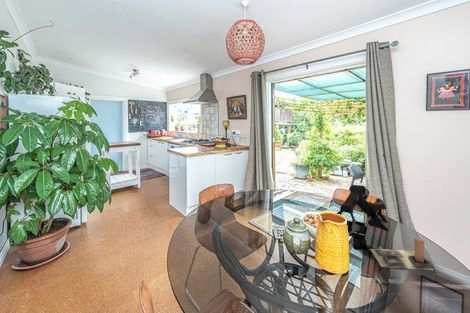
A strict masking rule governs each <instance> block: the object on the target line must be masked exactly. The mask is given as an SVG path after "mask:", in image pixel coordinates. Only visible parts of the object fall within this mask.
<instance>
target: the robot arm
mask: <svg viewBox="0 0 470 313" xmlns="http://www.w3.org/2000/svg"><path fill="white" fill-rule="evenodd" d="M348 190H349V192H350V193H349V194H348V196H347V197H346V199H345V200H344V202H343V203H341V205H340V208H339V211H338V212H337V213H336V214H340V216H342V215H343V213H347V214H349V215H350V217H351V220H347V219H346V220H347V225H348V233H347V234H348V236H349V237H351V242H350V244H351V246H352V248H353V249H354V250H358V251H359V250H360V251H362V250H363V251H364V250H365V251H366V250H367V246H368V245H367V244H368V243H367V239H368V237H369V227H368V225H369V226H370V227H373V228H374V227H375V228H378V229H380V230H383V231H386V232H389V228H388V227H387V226H386V225H385V224H388V223H389V221H388V220H387V219H386V217H385V216H384V214H383V213H382V211H383V210H384V211H385V210H387V205H386V203H385V200H383V199H382V198H376V199H375V201H374V202H371V201H368V198H369V196H370V193H371V192H370V190H368V189H367V188H366V186H365V185H359V184H352V185H350V187H349V188H348ZM355 207H357V208H359V209H360V212H361V213H364V214H365V215H366V217H367V218H368V219H367V223H366V222H362V221H357V220H356V218H355V215H354V214H353V213H354V209H355ZM384 223H385V224H384Z"/></svg>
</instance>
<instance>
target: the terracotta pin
mask: <svg viewBox="0 0 470 313" xmlns="http://www.w3.org/2000/svg"><path fill="white" fill-rule="evenodd" d="M413 240H414V242H413V243H414V245H413V246H414V250H413V251H414V259H415V262H416V263H423V264H424V258H425V240H424V239H422V238H417V237H416V238H414V239H413Z"/></svg>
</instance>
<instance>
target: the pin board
mask: <svg viewBox="0 0 470 313" xmlns="http://www.w3.org/2000/svg"><path fill="white" fill-rule="evenodd" d="M369 250H370V251H371V253H372V254H373V256H374V257H375V258H374V259H376V261H377V262H378V264H379V265H380V267H382V268H383V267H384V268H393V269H394V268H395V269H409V270H425V271H434V268H433V267H432V266H433V265H432V264H431V262H429V261H428V260H427V258H425V257H424V264H423V263H416V262H415V259H414V250H405V249H402V250H400V249H379V248H369Z"/></svg>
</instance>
